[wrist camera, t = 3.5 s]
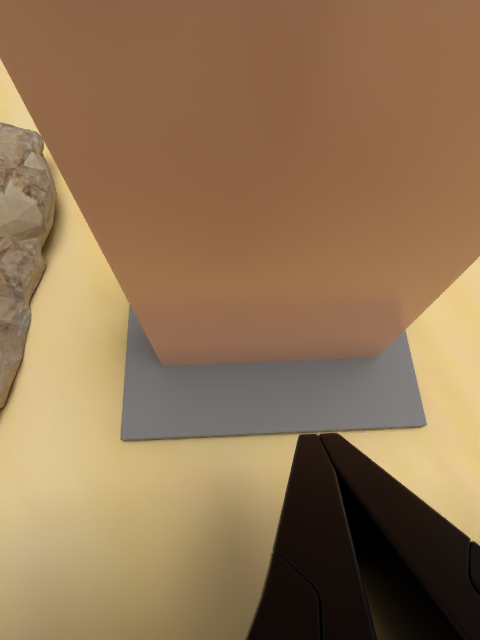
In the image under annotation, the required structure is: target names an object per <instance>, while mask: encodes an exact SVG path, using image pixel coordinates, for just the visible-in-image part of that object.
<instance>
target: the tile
mask: <svg viewBox="0 0 480 640" xmlns="http://www.w3.org/2000/svg"><path fill="white" fill-rule="evenodd" d="M0 58H1V60H2V62H3V64H4V66H5V68H6V70H7V72H8V73H9V75H10V77H11V79H12V81H13V83H14V85H15V87H16V89H17V91H18V92H19V94H20V96H21V98H22V100H23V102H24V104H25V106H26V108H27V110H28V111H29V113H30V115H31V117H32V119H33V121H34V123H35V125H36V127H37V129H38V130H39V132H40V134H41V136H42V138H43V140H44V142H45V144H46V146H47V148H48V149H49V151H50V153H51V155H52V157H53V159H54V161H55V163H56V165H57V166H58V168H59V170H60V172H61V174H62V176H63V178H64V180H65V182H66V184H67V185H68V187H69V189H70V191H71V193H72V195H73V197H74V199H75V201H76V203H77V204H78V206H79V208H80V210H81V212H82V214H83V216H84V218H85V220H86V222H87V223H88V225H89V227H90V229H91V231H92V233H93V235H94V237H95V239H96V241H97V242H98V244H99V246H100V248H101V250H102V252H103V254H104V256H105V258H106V260H107V261H108V263H109V265H110V267H111V269H112V271H113V273H114V275H115V277H116V279H117V280H118V282H119V284H120V286H121V288H122V290H123V292H124V294H125V296H126V298H127V299H128V301H129V303H130V305H131V307H132V309H133V311H134V313H135V315H136V317H137V318H138V320H139V322H140V324H141V326H142V328H143V330H144V332H145V334H146V336H147V337H148V339H149V341H150V343H151V345H152V347H153V349H154V351H155V353H156V355H157V356H158V358H159V360H160V362H161V364H162V366H182V365H207V364H231V363H256V362H281V361H305V360H330V359H355V358H377V357H378V356H379V355H380V354H381V353H382V352H383V351H384V350H385V349H386V348H387V347H388V346H389V345H390V344H391V343H392V342H393V341H394V340H395V339H396V338H397V337H398V336H399V335H400V334H401V333H402V332H403V331H404V330H405V329H406V328H407V327H408V326H409V325H411V324H412V323H413V322H414V321H415V320H416V319H417V318H418V317H419V316H420V315H421V314H422V313H423V312H424V311H425V310H426V309H427V308H428V307H429V306H430V305H431V304H432V303H433V302H434V301H435V300H436V299H437V298H438V297H439V296H440V295H441V294H442V293H443V292H444V291H445V290H446V289H447V288H448V287H449V286H450V285H451V284H452V283H453V282H454V281H455V280H456V279H457V278H458V277H459V276H460V275H461V274H462V273H463V272H464V271H465V270H466V269H467V268H468V267H469V266H470V265H471V264H472V263H473V262H474V261H475V260H476V259H477V258H478V257H479V256H480V0H0Z"/></svg>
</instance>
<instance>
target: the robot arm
mask: <svg viewBox="0 0 480 640" xmlns="http://www.w3.org/2000/svg"><path fill="white" fill-rule="evenodd" d="M470 542H471V543H470ZM245 640H480V545H478V544H477V543H476V542H475V541H471V540H470V538H469V537H468V536H467V535H466V534H464V533H463V532H462V531H461V530H459V529H458V528H457V527H456V526H454V525H453V524H452V523H450V522H449V521H448V520H447V519H445V518H444V517H443V516H442V515H440V514H439V513H438V512H437V511H435V510H434V509H433V508H432V507H430V506H429V505H428V504H426V503H425V502H424V501H423V500H421V499H420V498H419V497H418V496H416V495H415V494H414V493H413V492H411V491H410V490H409V489H408V488H406V487H405V486H404V485H402V484H401V483H400V482H399V481H397V480H396V479H395V478H394V477H392V476H391V475H390V474H389V473H387V472H386V471H385V470H384V469H382V468H381V467H380V466H379V465H377V464H376V463H375V462H373V461H372V460H371V459H370V458H368V457H367V456H366V455H365V454H363V453H362V452H361V451H360V450H358V449H357V448H356V447H355V446H353V445H352V444H351V443H349V442H348V441H347V440H346V439H344V438H343V437H342V436H341V435H339V434H337V433H325V434H320V435H319V436H318V435H317V434H302V435H299V437H298V441H297V445H296V450H295V454H294V458H293V463H292V467H291V472H290V476H289V480H288V485H287V489H286V493H285V498H284V502H283V507H282V511H281V515H280V520H279V524H278V528H277V533H276V537H275V542H274V546H273V553H272V554H271V558H270V562H269V567H268V571H267V575H266V579H265V582H264V586H263V590H262V593H261V597H260V600H259V603H258V606H257V608H256V611H255V614H254V617H253V620H252V623H251V626H250V628H249V631H248V634H247V636H246V639H245Z"/></svg>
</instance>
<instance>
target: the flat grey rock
mask: <svg viewBox="0 0 480 640" xmlns="http://www.w3.org/2000/svg"><path fill="white" fill-rule="evenodd" d="M43 149H44V141H43V138H42V136H41V135H39V134H38V133H37V132H35V131H31V130H28V129H27V130H26V129H22V128H18V127H15V126H13V125H9V124H5V123H0V408H2V407H3V406H4V405H5V402H6V399H7V396H8V392H9V389H10V386H11V384H12V381H13V379H14V377H15V375H16V373H17V370H18V367H19V365H20V362H21V360H22V356H23V351H24V346H25V337H26V334H27V331H28V328H29V326H30V323H31V311H30V307H29V301H30V298H31V295H32V294H33V292H34V290H35V288H36V286H37V285H38V283H39V281H40V279H41V276H42V274H43V271H44V269H45V266H46V264H45V261H44V258H43V255H42V253H41V248H42V246H43V244H44V242H45V240H46V238H47V236H48V234H49V232H50V230H51V228H52V226H53V219H54V210H55V202H56V189H55V185H54V181H53V179H52V176H51V174H50V171H49V168H48V166H47V164H46V161H45V158H44V156H43V153H42V152H43Z"/></svg>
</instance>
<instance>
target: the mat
mask: <svg viewBox="0 0 480 640" xmlns="http://www.w3.org/2000/svg"><path fill="white" fill-rule="evenodd" d="M426 425H427V423H426V419H425V415H424V410H423V406H422V401H421V397H420V393H419V388H418V384H417V380H416V375H415V371H414V366H413V362H412V358H411V353H410V349H409V344H408V340H407V336H406V331H405V330H404V331H403V332H402V333H401V334H400V335H399V336H398V337H397V338H396V339H395V340H394V341H393V342H392V343H391V344H390V345H389V346H388V347H387V348H386V349H385V350H384V351H383V352H382V353H381V354H380V355H379V356H378V357H377V358H355V359H330V360H305V361H281V362H256V363H231V364H207V365H182V366H162V364H161V362H160V360H159V358H158V356H157V355H156V353H155V351H154V349H153V347H152V345H151V343H150V341H149V339H148V337H147V336H146V334H145V332H144V330H143V328H142V326H141V324H140V322H139V320H138V318H137V317H136V315H135V313H134V311H133V309H132V307H131V305H130V309H129V324H128V338H127V353H126V368H125V382H124V397H123V412H122V426H121V440H123V441H137V440H159V439H180V438H202V437H223V436H245V435H266V434H288V433H309V432H331V431H352V430H374V429H395V428H417V427H424V426H426Z"/></svg>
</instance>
